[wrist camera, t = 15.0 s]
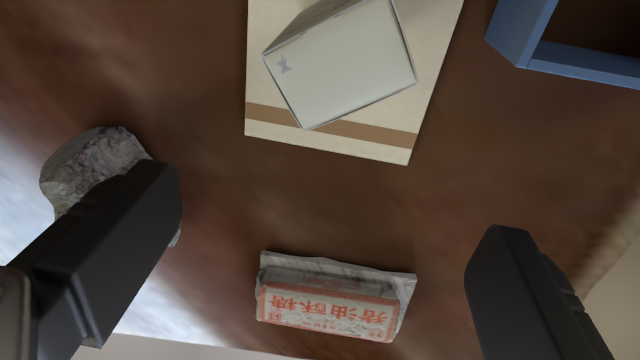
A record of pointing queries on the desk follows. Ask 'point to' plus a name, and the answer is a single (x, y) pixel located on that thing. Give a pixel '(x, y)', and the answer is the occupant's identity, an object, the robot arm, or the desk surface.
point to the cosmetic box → (340, 60)
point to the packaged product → (332, 296)
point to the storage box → (553, 46)
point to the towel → (367, 124)
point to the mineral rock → (89, 165)
